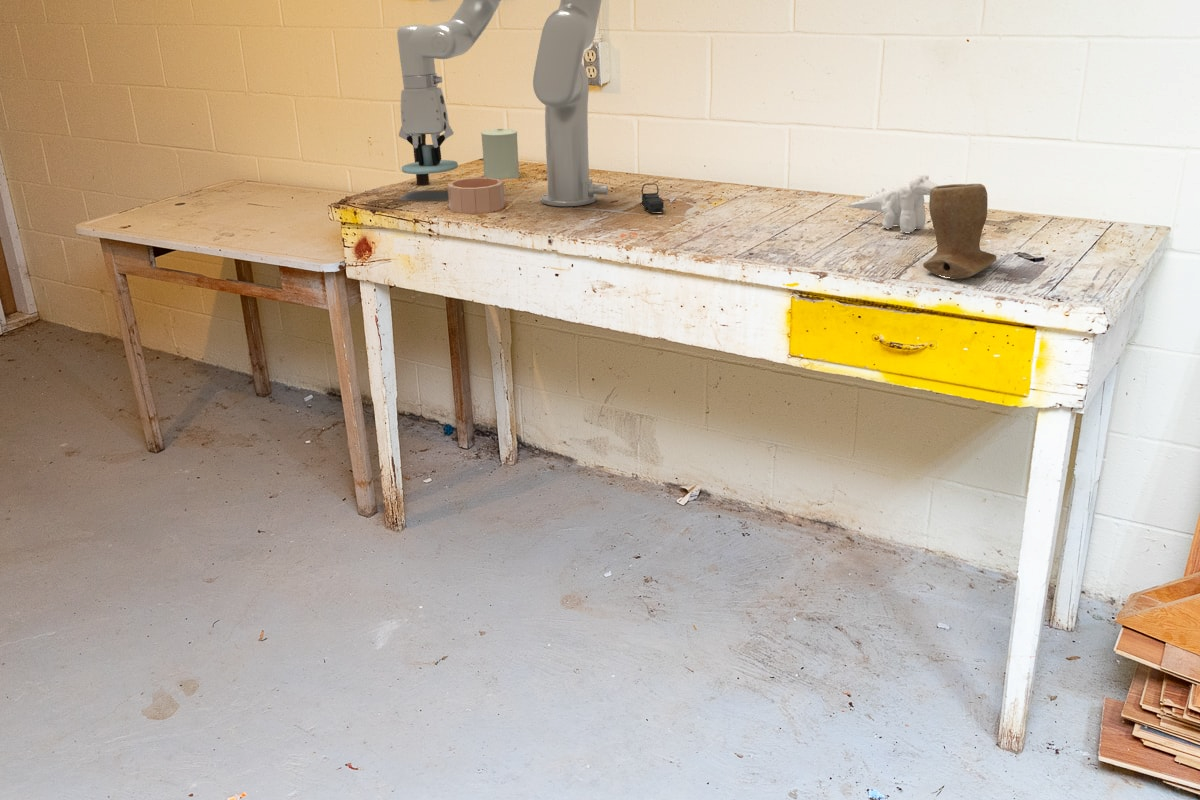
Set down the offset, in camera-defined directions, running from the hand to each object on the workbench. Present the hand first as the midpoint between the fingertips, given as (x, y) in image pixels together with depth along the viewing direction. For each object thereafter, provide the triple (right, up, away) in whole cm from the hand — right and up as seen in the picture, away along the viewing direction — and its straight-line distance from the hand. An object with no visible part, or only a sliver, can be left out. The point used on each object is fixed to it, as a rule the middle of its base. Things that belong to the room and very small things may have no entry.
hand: (429, 163), depth 244 cm
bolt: (-4, -2, +16) cm, 17 cm away
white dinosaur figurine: (+99, -21, -34) cm, 107 cm away
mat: (-1, -7, +3) cm, 8 cm away
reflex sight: (+51, -13, -13) cm, 55 cm away
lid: (0, -1, 0) cm, 1 cm away
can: (+15, +2, +24) cm, 28 cm away
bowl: (+12, -12, -9) cm, 20 cm away
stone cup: (+102, -33, -61) cm, 123 cm away
